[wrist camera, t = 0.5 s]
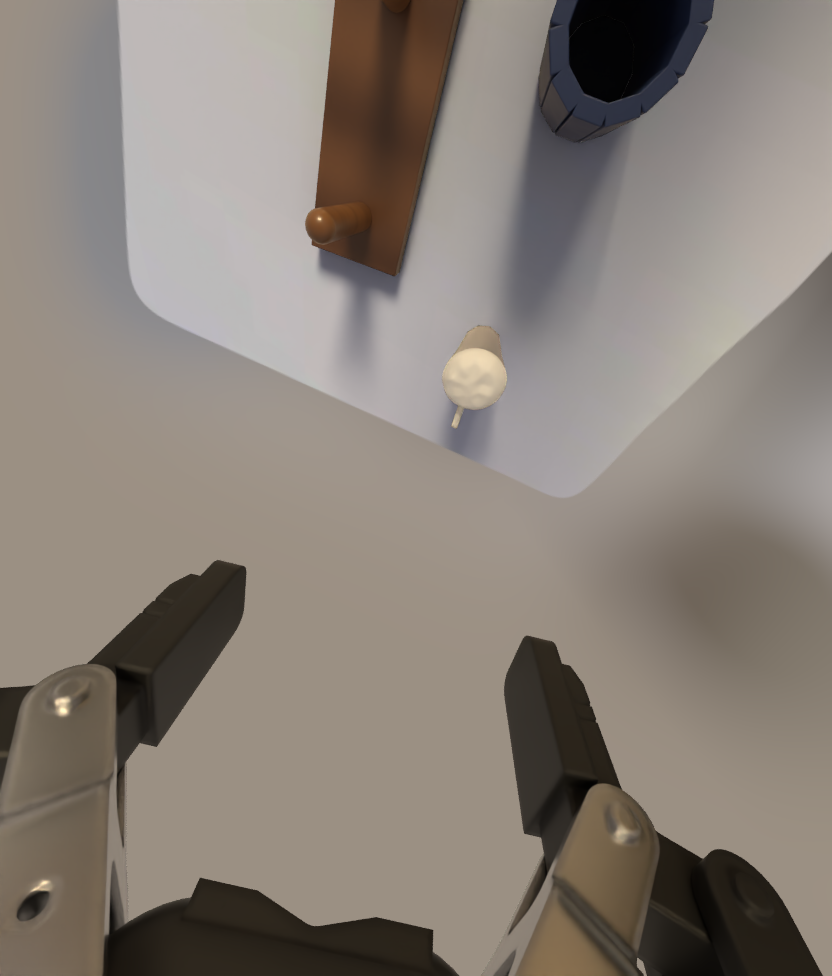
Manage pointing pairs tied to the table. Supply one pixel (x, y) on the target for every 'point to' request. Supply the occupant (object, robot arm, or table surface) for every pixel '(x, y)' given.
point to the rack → (379, 124)
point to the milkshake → (475, 372)
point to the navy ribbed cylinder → (655, 71)
